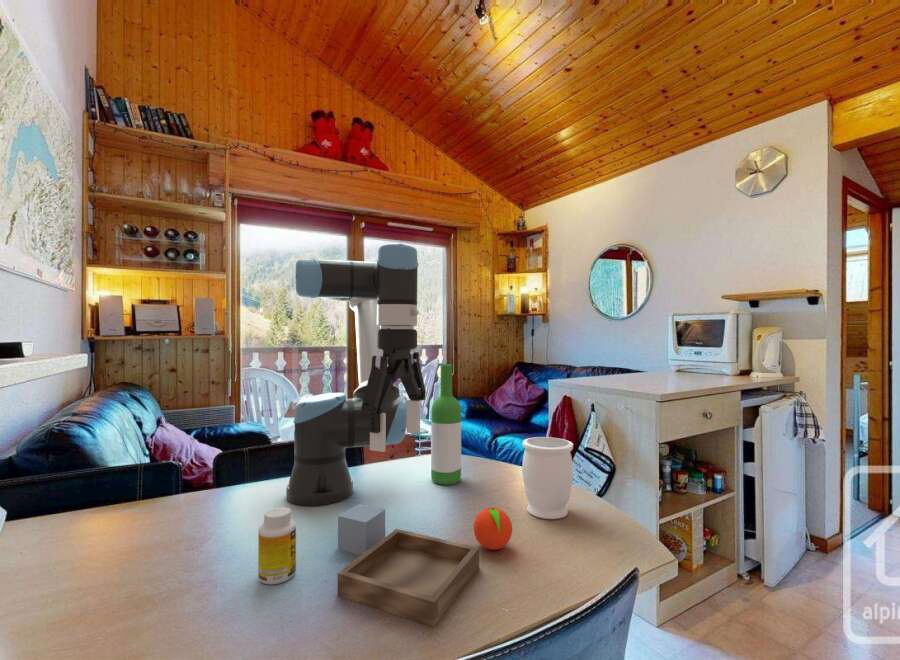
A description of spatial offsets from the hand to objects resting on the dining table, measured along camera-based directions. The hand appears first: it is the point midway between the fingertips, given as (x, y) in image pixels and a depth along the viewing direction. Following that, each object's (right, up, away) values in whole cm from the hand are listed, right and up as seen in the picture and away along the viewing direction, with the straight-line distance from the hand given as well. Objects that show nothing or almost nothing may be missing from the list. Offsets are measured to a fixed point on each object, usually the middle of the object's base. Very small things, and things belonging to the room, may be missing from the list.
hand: (396, 441), depth 83 cm
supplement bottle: (-17, -18, -13) cm, 28 cm away
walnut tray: (+4, -18, -14) cm, 23 cm away
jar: (+31, -18, +12) cm, 38 cm away
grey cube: (-6, -18, -3) cm, 19 cm away
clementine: (+18, -18, -4) cm, 26 cm away
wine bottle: (+9, -18, +31) cm, 37 cm away
